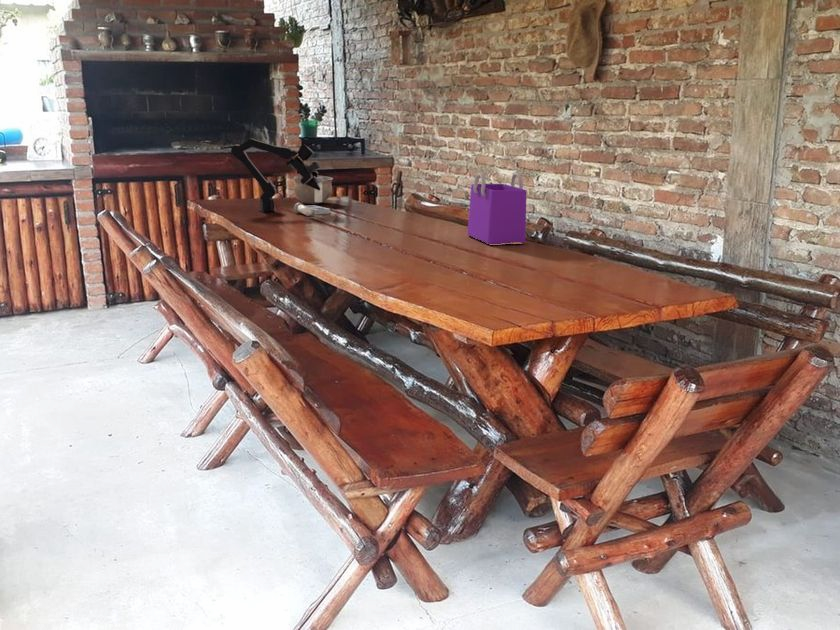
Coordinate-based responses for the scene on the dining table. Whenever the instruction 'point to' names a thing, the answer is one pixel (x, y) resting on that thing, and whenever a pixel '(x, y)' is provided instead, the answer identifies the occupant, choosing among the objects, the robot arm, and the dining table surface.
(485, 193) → the shopping bag
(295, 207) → the white plastic cylinder
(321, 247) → the dining table surface
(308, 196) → the ceramic bowl
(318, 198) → the translucent upright cylinder
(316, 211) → the housing
